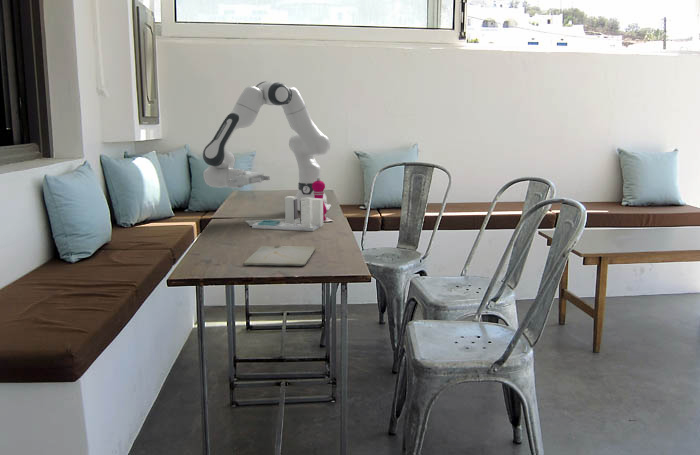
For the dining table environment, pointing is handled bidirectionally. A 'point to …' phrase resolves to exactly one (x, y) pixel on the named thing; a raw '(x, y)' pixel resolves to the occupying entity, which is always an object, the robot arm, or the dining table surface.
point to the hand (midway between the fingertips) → (265, 179)
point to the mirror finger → (318, 211)
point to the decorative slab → (280, 256)
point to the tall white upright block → (291, 209)
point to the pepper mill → (319, 193)
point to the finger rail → (305, 224)
